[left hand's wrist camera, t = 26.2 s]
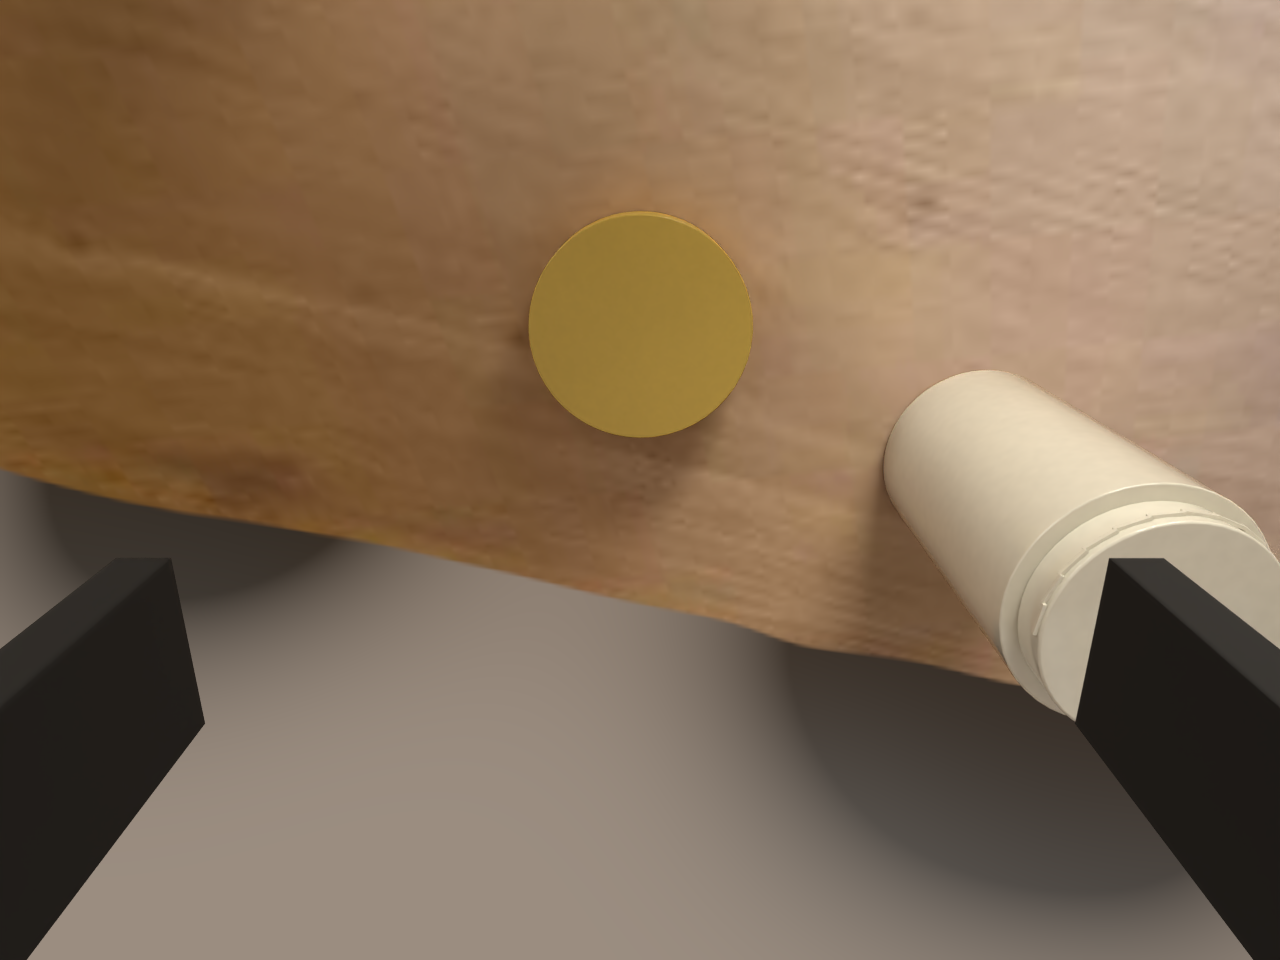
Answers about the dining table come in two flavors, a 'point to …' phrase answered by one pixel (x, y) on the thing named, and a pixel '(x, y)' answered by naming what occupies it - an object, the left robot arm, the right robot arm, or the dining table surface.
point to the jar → (1057, 522)
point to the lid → (640, 324)
